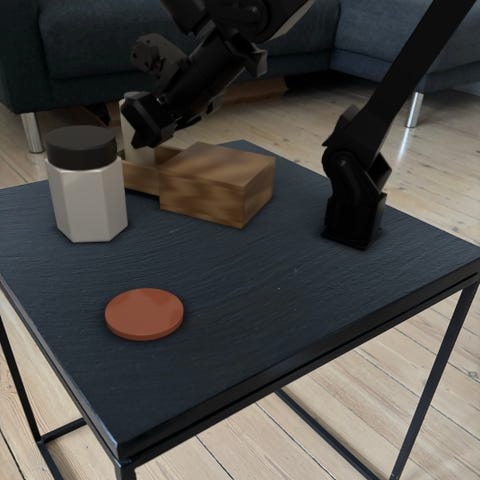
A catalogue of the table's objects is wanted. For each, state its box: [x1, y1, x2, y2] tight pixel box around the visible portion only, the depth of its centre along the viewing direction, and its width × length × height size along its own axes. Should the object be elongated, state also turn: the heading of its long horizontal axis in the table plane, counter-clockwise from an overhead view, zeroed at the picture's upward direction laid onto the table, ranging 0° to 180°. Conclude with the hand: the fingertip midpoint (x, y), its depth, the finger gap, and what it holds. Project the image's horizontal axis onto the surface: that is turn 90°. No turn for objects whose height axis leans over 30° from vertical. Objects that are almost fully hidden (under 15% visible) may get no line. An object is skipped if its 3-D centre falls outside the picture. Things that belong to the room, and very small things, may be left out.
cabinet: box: [158, 141, 276, 230], centre depth 73 cm, size 13×12×6 cm
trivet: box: [104, 287, 185, 342], centre depth 53 cm, size 8×8×1 cm
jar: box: [43, 125, 129, 244], centre depth 64 cm, size 9×8×12 cm
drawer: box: [117, 143, 186, 197], centre depth 77 cm, size 13×10×4 cm
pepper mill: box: [118, 91, 156, 168], centre depth 74 cm, size 4×4×11 cm
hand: (142, 141), depth 75 cm, fingers closed on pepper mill, 4 cm apart
